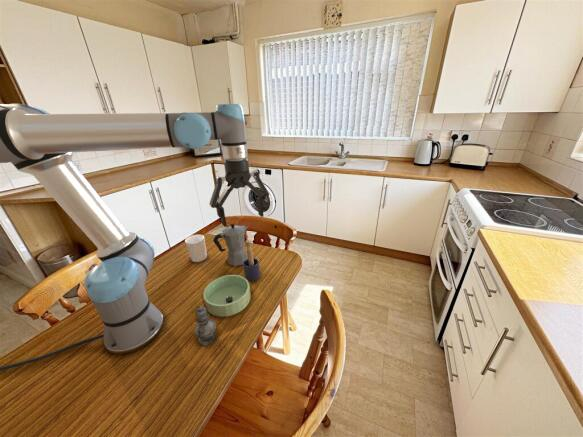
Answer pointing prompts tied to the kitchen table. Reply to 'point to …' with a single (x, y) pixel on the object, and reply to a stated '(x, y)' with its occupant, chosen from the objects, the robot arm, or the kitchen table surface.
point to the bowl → (222, 289)
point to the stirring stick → (250, 252)
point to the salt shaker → (204, 327)
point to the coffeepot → (233, 244)
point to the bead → (229, 299)
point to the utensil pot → (251, 270)
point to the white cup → (196, 247)
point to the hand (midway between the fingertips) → (243, 220)
